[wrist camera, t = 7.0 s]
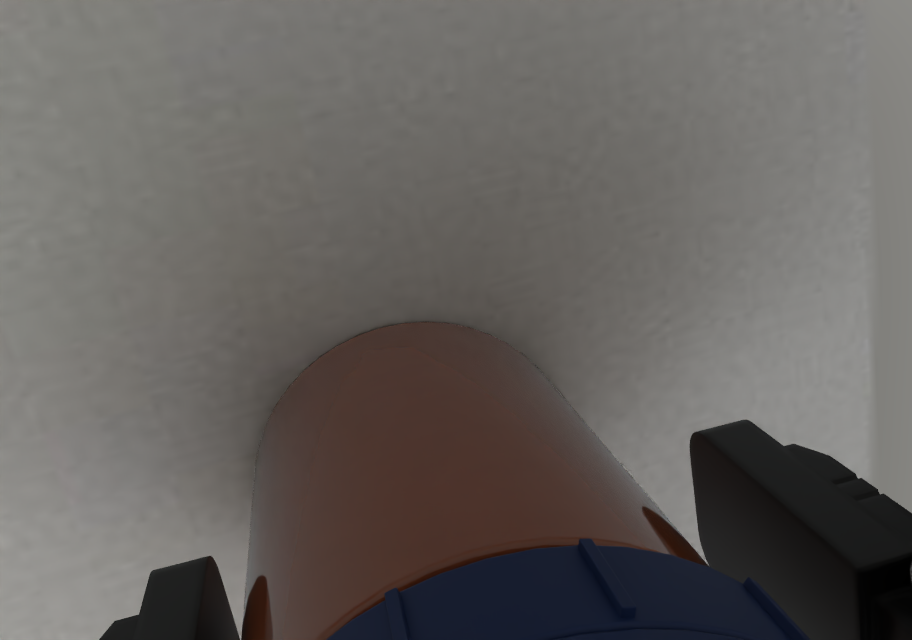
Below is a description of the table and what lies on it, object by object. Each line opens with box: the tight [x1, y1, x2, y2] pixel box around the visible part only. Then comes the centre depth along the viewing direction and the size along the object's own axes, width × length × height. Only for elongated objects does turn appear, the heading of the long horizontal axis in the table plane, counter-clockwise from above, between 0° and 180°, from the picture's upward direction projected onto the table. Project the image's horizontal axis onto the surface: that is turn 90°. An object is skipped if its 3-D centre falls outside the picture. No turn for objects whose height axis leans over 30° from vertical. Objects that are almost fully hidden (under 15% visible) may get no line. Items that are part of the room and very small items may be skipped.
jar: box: [241, 322, 709, 640], centre depth 11 cm, size 5×5×8 cm
